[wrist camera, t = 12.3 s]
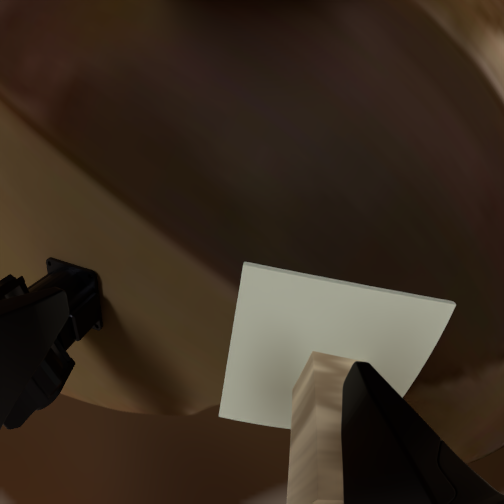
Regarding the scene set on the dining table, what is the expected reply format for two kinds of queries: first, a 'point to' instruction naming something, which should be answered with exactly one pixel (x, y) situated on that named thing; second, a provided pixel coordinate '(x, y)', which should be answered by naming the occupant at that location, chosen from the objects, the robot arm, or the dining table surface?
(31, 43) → the dining table surface
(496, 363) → the dining table surface
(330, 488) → the birch block
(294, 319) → the sage mat
